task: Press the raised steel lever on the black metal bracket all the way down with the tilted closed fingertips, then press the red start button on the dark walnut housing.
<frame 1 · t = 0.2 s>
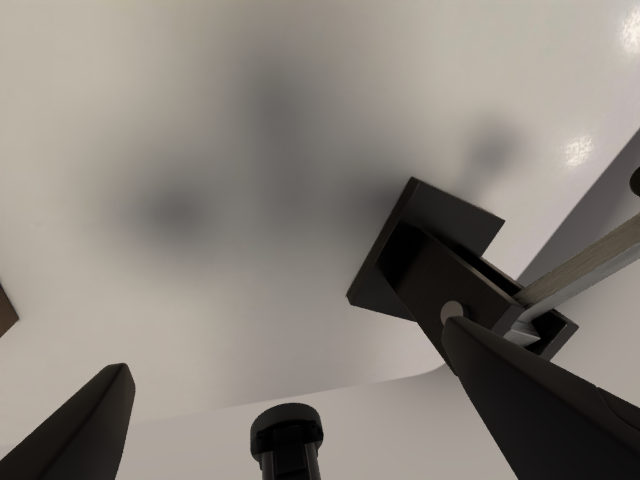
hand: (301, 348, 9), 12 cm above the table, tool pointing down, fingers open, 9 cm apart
bracket: (419, 255, 23), on the table
lever: (565, 281, 14), point 9 cm above the table, hinge at 20.0°
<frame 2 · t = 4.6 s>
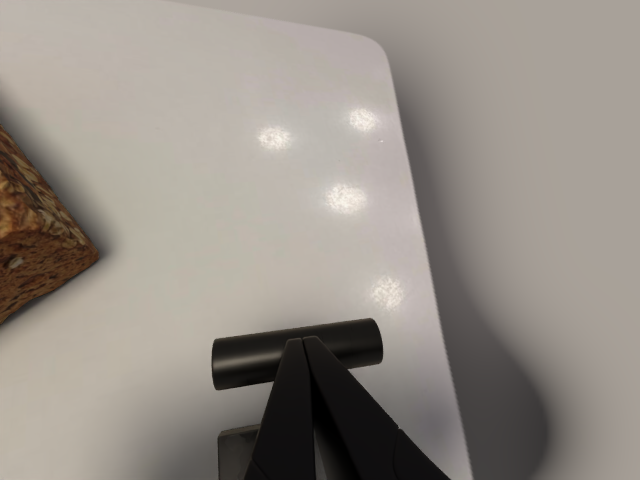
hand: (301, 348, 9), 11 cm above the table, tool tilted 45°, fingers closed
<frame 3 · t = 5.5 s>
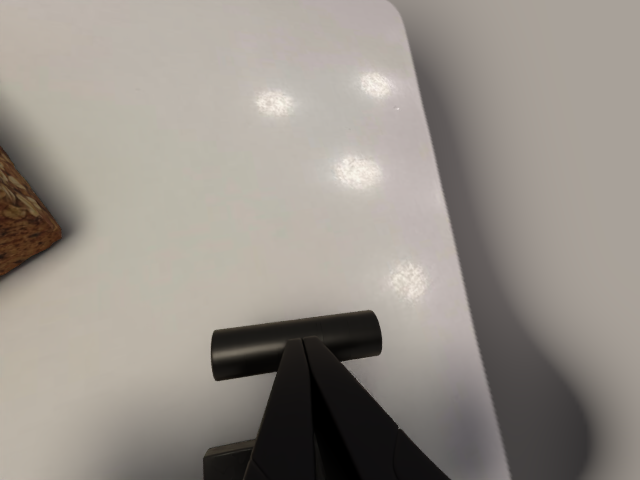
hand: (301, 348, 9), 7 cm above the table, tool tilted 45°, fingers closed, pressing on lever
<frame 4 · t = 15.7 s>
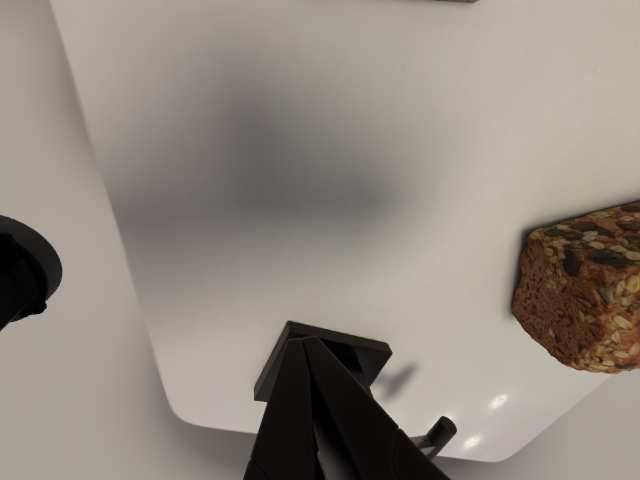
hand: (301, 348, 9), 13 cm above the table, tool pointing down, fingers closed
bread: (598, 251, 29), on the table
bracket: (321, 365, 28), on the table
lever: (390, 451, 23), point 7 cm above the table, hinge at -10.4°
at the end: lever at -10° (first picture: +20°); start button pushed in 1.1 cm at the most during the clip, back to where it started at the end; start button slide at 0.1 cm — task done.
